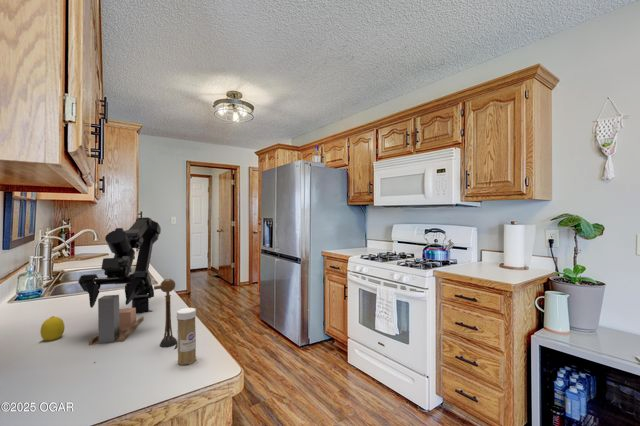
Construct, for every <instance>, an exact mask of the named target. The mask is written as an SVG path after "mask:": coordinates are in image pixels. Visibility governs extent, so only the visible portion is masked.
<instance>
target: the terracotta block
mask: <svg viewBox="0 0 640 426" xmlns="http://www.w3.org/2000/svg"><path fill="white" fill-rule="evenodd" d="M136 321H137V313H136V308H132V307H128V308H126V307H125V308H119V328H127V327H132V325H133V324H134V323H135V322H136Z"/></svg>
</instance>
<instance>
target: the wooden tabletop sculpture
mask: <svg viewBox="0 0 640 426" xmlns="http://www.w3.org/2000/svg"><path fill="white" fill-rule="evenodd" d="M175 287H176V282H175V281H174V279H172V278H165V279H164V280H162V281H161V283H160V284H159V285H158V284H157V285H153V289H154V291H156V290H161V291H162V292H163V293H165V294H166V295H165V296H164V297H165V322H164V323H165V327H164V334H163V338H162V340H161V341H160V344H159V347H160V348H162V349H164V348H166V349H167V348H171V347H174V346H175V347H174V349H173V350H176V349H178V340H177V338H176V337H175V336H173V328H172V319H171V318H172V314H171V311H172V310H171V296H172V295H171V294H170V293H171V292H172V291H174V290H175Z"/></svg>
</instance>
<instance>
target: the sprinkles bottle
mask: <svg viewBox="0 0 640 426" xmlns="http://www.w3.org/2000/svg"><path fill="white" fill-rule="evenodd" d="M196 316H197V309H196V308H194V307H185V308H181V309H178V310H177V311H176V319H177V320H176V321H177V331H176V332H177V333H176V334H177V338H176V340H177V343H178V347H177V364H178V365H181V366H184V365H190V364H193V363H194V362H195V361H197V356H196V354H197V353H196V351H197V350H196V348H197V334H196V318H197V317H196Z"/></svg>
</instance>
